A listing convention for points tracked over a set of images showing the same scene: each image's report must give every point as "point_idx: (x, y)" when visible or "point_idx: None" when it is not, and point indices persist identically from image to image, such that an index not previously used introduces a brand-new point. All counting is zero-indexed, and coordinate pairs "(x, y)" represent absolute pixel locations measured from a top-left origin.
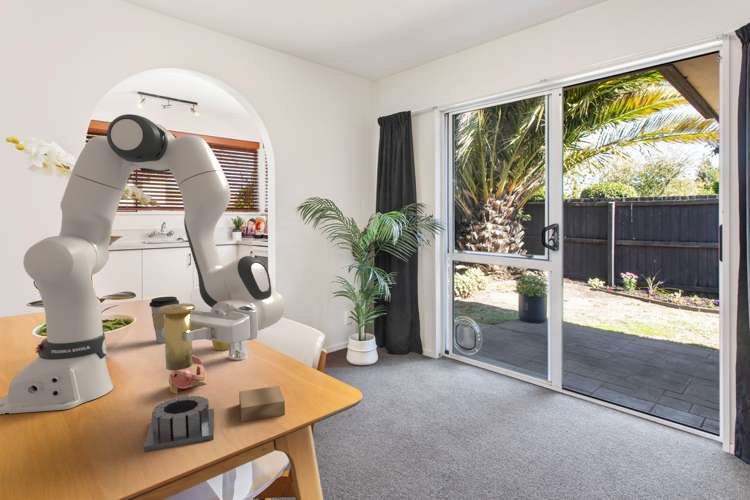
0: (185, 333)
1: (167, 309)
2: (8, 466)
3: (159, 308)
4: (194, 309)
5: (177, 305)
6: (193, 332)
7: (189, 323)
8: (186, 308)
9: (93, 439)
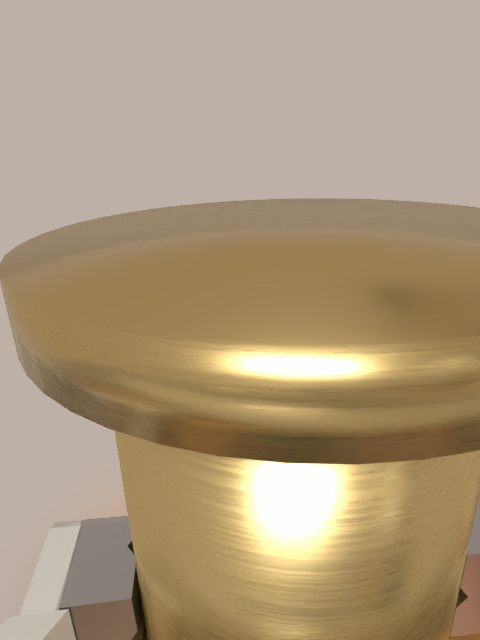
0: (93, 519)
1: (231, 206)
2: None
3: (354, 199)
4: (61, 399)
5: (417, 243)
6: (31, 602)
7: (139, 535)
8: (35, 242)
9: (462, 636)
